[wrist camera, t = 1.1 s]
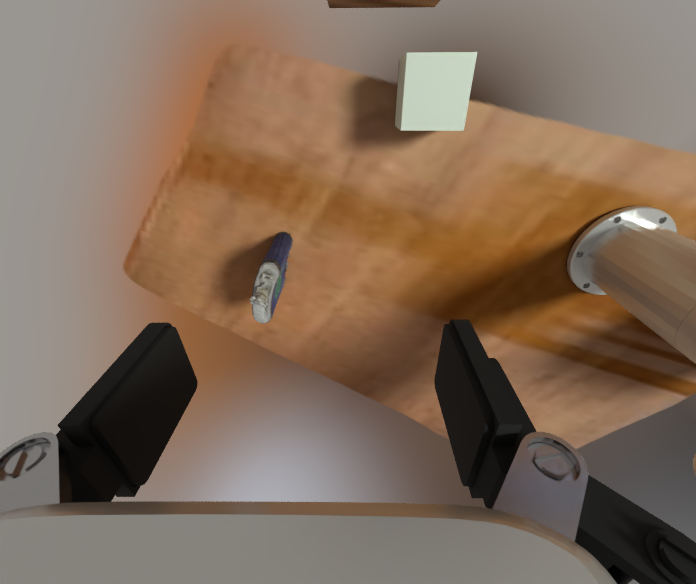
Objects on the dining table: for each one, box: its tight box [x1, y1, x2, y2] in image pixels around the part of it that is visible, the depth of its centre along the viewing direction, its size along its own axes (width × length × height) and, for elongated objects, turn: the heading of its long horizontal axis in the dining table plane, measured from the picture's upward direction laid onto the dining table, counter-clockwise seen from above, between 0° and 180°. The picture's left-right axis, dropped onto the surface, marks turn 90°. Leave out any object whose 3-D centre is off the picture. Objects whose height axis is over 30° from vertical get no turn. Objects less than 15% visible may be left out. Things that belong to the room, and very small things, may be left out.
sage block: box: [395, 52, 477, 131], centre depth 31 cm, size 6×6×6 cm
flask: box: [250, 232, 293, 323], centre depth 40 cm, size 9×3×11 cm, turn 164°
